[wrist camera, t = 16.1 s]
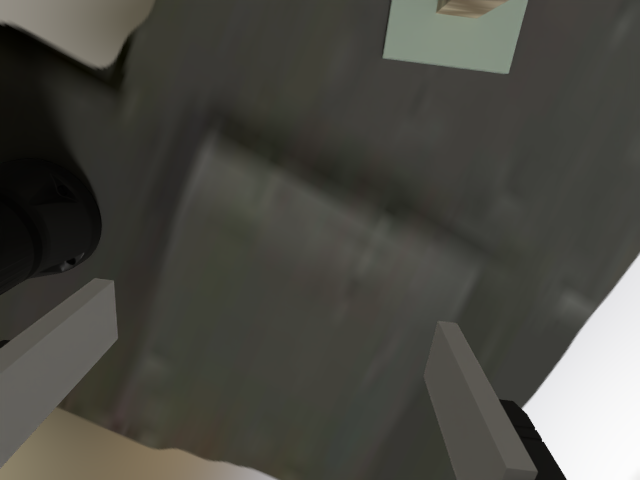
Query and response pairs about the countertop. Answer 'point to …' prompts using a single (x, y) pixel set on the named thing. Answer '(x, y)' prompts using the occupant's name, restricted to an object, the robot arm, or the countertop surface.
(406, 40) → the pad
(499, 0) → the square peg
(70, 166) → the countertop surface
